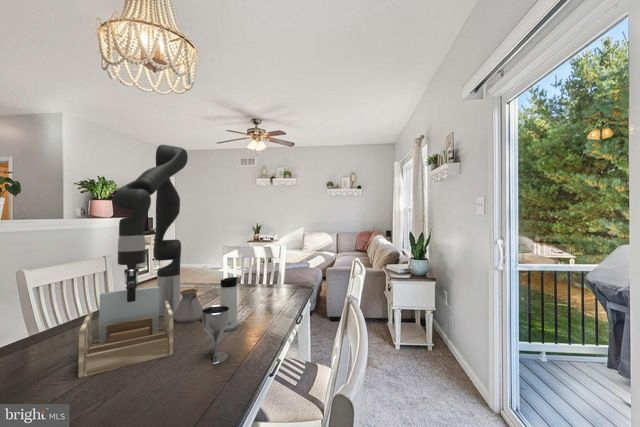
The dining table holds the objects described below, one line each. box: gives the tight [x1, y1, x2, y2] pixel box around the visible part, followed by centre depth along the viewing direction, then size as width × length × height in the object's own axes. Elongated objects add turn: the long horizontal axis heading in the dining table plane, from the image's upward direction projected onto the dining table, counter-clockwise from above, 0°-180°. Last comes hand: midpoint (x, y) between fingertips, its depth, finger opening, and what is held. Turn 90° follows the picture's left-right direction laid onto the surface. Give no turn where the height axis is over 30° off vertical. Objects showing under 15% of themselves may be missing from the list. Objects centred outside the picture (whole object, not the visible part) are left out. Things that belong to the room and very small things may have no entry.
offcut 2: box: [109, 327, 149, 343], centre depth 85 cm, size 2×10×7 cm, turn 124°
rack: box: [77, 301, 174, 378], centre depth 86 cm, size 18×22×14 cm
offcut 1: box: [106, 317, 153, 344], centre depth 88 cm, size 2×12×9 cm, turn 124°
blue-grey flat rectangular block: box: [98, 285, 160, 343], centre depth 91 cm, size 2×16×18 cm, turn 124°
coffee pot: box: [173, 288, 204, 324], centre depth 111 cm, size 21×12×15 cm, turn 33°
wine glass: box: [201, 304, 229, 365], centre depth 85 cm, size 8×8×15 cm
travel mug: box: [219, 276, 239, 332], centre depth 108 cm, size 6×7×20 cm
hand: (131, 298), depth 91 cm, fingers open, 8 cm apart
